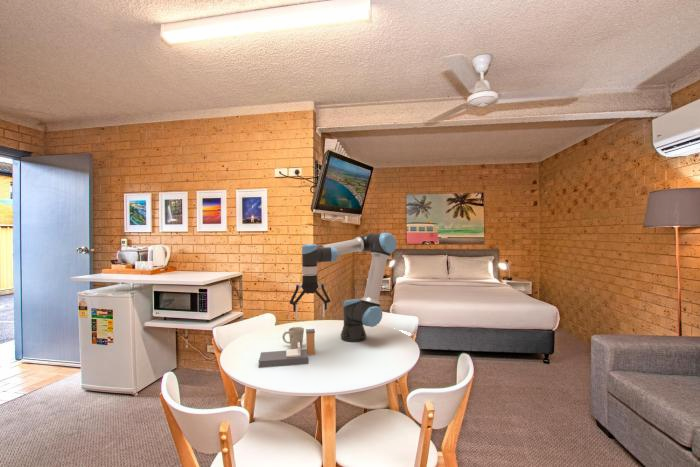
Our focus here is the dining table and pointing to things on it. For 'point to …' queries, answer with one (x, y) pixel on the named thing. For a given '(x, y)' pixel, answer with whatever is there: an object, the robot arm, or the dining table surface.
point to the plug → (310, 341)
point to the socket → (281, 359)
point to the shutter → (293, 352)
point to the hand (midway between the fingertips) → (310, 317)
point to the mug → (294, 336)
